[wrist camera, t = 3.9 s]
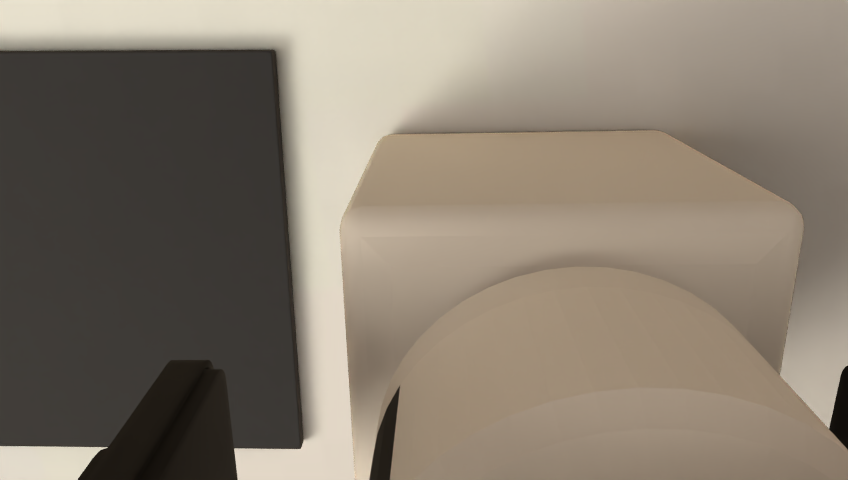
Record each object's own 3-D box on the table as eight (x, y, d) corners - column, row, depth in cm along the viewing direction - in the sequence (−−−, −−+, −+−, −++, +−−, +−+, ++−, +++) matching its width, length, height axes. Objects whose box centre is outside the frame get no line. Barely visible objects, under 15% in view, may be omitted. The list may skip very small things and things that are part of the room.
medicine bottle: (643, 383, 19) (937, 932, 8) (387, 384, 19) (311, 920, 8) (667, 127, 17) (1130, 374, 6) (376, 132, 17) (248, 377, 6)
